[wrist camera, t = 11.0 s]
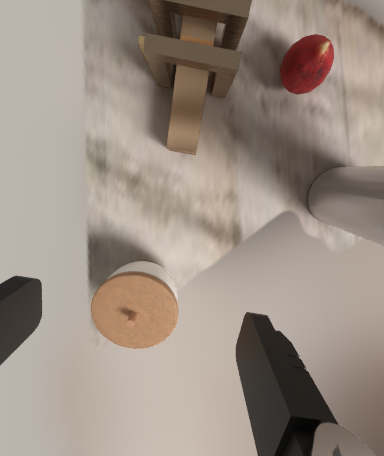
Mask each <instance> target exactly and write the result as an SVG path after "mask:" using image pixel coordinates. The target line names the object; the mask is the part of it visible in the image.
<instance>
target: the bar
mask: <svg viewBox="0 0 384 456" xmlns="http://www.w3.org/2000/svg"><path fill="white" fill-rule="evenodd" d="M216 26H217V22H214V21H209V20H205V19H200V18H195V17H190V16H185V15H183V19H182V27H181V35H180V40H184V41H189V42H194V43H199V44H204V45H209V46H213V45H214V39H215V32H216ZM208 76H209V71H206V70H201V69H196V68H191V67H186V66H181V65H177V67H176V75H175V83H174V91H173V99H172V107H171V115H170V123H169V131H168V139H167V148H168V149H169V150H170V151H175V152H180V153H186V154H192V155H196V150H197V143H198V137H199V131H200V125H201V119H202V113H203V106H204V100H205V94H206V88H207V82H208Z"/></svg>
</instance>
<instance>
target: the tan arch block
mask: <svg viewBox="0 0 384 456" xmlns="http://www.w3.org/2000/svg"><path fill="white" fill-rule="evenodd" d="M251 1H252V0H149V2H150V6H151V10H152V14H153V18H154V22H155V26H156V30H157V34H158V35H155V34H150V33H145V36H140V35H139V42H138V43H139V46H140V48H141V51H142V53H143V55H144V58H145V60H146V62H148V64H149V66H150V69H151V71H152V74H153V76H154V79H155V81H156V84H157V85H158V86H163V87H168V88H171V83H172V75H173V67H174V64H176V65H181V66H186V67H191V68H196V69H201V70H206V71H211V72H215V78H214V84H213V90H212V96H215V97H220V98H225V97H226V95H227V93H228V90H229V88H230V86H231V84H232V82H233V80H234V78H235V75H236V73H237V71H238V67H239V62H240V57H241V52H238V51H236V49H237V47H238V44H239V41H240V38H241V36H242V33H243V30H244V28H245V25H246V22H247V20H248V16H249V11H250V6H251ZM174 13H176V14H181V15H185V16H190V17H195V18H200V19H205V20H209V21H214V22H219V23H224V24H225V26H224V31H223V35H222V39H221V44H220V48H219V47H214V46H209V45H204V44H199V43H194V42H189V41H184V40H179V39H177V33H176V24H175V15H174Z"/></svg>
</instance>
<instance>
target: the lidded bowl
mask: <svg viewBox="0 0 384 456" xmlns="http://www.w3.org/2000/svg"><path fill="white" fill-rule="evenodd" d="M91 314H92V318H93V321H94V324H95V325H96V327H97V329H98V330H99V331H100V333H101V334H102V335H103V336H105V337H106V338H107V339H108V340H110V341H111V342H113V343H115V344H118V345H120V346H123V347H127V348H134V349H136V348H147V347H151V346H154V345H156V344H159V343H160V342H162V341H164V340H165V339H166V338H167V337H168V336H169V335H170V334H171V333H172V332H173V330H174V328H175V326H176V323H177V319H178V293H177V288H176V285H175V282H174V280H173V278H172V277H171V275H170V274H169V273H168V272H167V271H166V270H165V269H164V268H163V267H161V266H160V265H158V264H155V263H152V262H148V261H136V262H132V263H128V264H126V265H124V266H122V267H120V268H119V269H117V270H116V271H115V272H114V273H112V274H111V275H110V276H109V277H108V279H107V280H106V281H105V282H104V283H103V284H102V285H101V286H100V287H99V288H98V290H97V291H96V293H95V294H94V297H93V299H92V303H91Z"/></svg>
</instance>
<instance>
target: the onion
mask: <svg viewBox="0 0 384 456" xmlns="http://www.w3.org/2000/svg"><path fill="white" fill-rule="evenodd" d="M333 60H334V49H333V46H332V44H331V41H330V40H329V39H327V38H326V37H325V36H321V35H316V34H314V35H310V36H306V37H303V38H302V39H300V40H299V41H298V42H296V43H295V44H293V45H292V46H291V48H290V49H289V50H288V52H287V53H286V55H285V56H284V59H283V62H282V65H281V69H280V74H281V81H282V83H283V86H284V87H285V88H286V89H287V90H288V91H289V92H292V93H295V94H297V95H298V94H303V93H307V92H310V91H312V90H313V89H314V88H316V87H317V86H319V85H320V84H321V83H322V82H323V81H324V79H325V77H326V76H327V74H328V73H329V71H330V70H331V67H332V63H333Z"/></svg>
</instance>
